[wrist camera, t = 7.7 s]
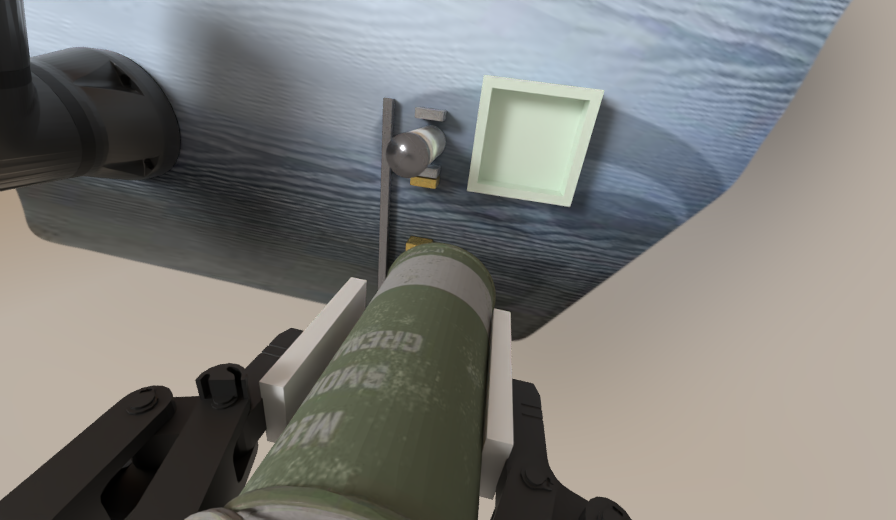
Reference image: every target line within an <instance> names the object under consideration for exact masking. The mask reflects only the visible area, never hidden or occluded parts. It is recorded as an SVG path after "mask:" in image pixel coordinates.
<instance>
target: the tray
mask: <svg viewBox="0 0 896 520" xmlns="http://www.w3.org/2000/svg"><path fill="white" fill-rule="evenodd" d="M603 94H604V90H598V89H590V88H582V87H574V86H567V85H559V84H551V83H543V82H535V81H528V80H520V79H512V78H504V77H496V76H489V75H484V78H483V84H482V91H481V98H480V105H479V112H478V119H477V125H476V132H475V139H474V146H473V153H472V159H471V166H470V173H469V180H468V187H467V191H471V192H477V193H484V194H490V195H496V196H503V197H509V198H516V199H522V200H529V201H535V202H542V203H548V204H555V205H561V206H567V207H570V205H571V202H572V199H573V195H574V192H575V189H576V185H577V182H578V178H579V175H580V172H581V168H582V165H583V161H584V158H585V155H586V151H587V148H588V144H589V141H590V138H591V134H592V131H593V128H594V124H595V121H596V117H597V114H598V111H599V107H600V104H601V100H602V97H603Z"/></svg>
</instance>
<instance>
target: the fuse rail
mask: <svg viewBox="0 0 896 520" xmlns="http://www.w3.org/2000/svg"><path fill="white" fill-rule="evenodd" d="M394 107H395V99H391V98H383V131H382V166H381V202H380V237H379V273H378V290H379V289H380V287H381V286H382V284H383V283H384V281H385V280H386V278H387V273H388V249H389V225H390V202H391V178H392V171H393V172H395V173H396V174H397V175H399V176H401V177H404V178H411V180H410V185H414V186H421V187H427V188H433V189H436V187H437V186H438V184H439V178H440V176H439V175H440V169H441V166H439V165H432V164H430V163H431V162H433V161H434V160H435V159H436V158H437V157H438V156H439V155H440V154H441V153H442V152H443V151H444V149H445V145H446V139H445V135H444V133H443V132H442V131H441V130H440V129H439V128H438V127H436V126H433V125H428V126H424V127H421V128H419V129H416V130H413V131H410V132H404V133H401V134H398V135H396V136H395V137H393V130H394ZM446 113H447V110H439V109H432V108H425V107H415V118H421V119H428V120H435V121H445V120H446ZM425 243H433V240H432V239H426V238H420V237H414V236H411V237H410V238H409V240H408V241H407V243H406V251H407V250H408V249H410V248H412V247H415V246H417V245H421V244H425Z"/></svg>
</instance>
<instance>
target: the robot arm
mask: <svg viewBox="0 0 896 520" xmlns="http://www.w3.org/2000/svg"><path fill="white" fill-rule="evenodd" d="M179 150H180V133H179V127H178V123H177V120H176V117H175V114H174V112H173V109H172V107H171V105H170V103H169V101H168V99H167V98H166V96H165V94H164V93H163V91H162V90H161V89H160V87H159V86H158V85H157V83H156V82H155V81H154V80H153V79H152V78H151V77H150V76H149V74H148V73H146V72H145V71H144V70H143V69H142V68H141V67H140V66H138V65H137V64H136V63H134V62H133V61H131V60H130V59H128V58H126V57H125V56H123V55H120V54H118V53H115V52H113V51H109V50H104V49H95V48H87V47H73V48H68V49H64V50H60V51H55V52H51V53H47V54H43V55H39V56H34V57H30V55H29V46H28V38H27V29H26V20H25V11H24V2H23V0H0V191H5V190H10V189H15V188H21V187H26V186H31V185H37V184H42V183H47V182H53V181H58V180H63V179H68V178H74V177H80V176H88V177H99V178H111V179H122V180H143V179H148V178H152V177H157V176H160V175H162V174H165V173H166V172H168V171H169V170H170V169H171V168H172V167H173V165H174V164H175V162H176V160H177V158H178V155H179ZM366 283H367V281H366V280H362V279H357V278H353V277H351V278H350V279H349V280H348V281H347V283H346V284H345V285H344V286H343V287H342V288H341V289H340V290H339V292H338V293H337V294H336V295H335V296H334V297H333V298H332V300H331V301H330V302H329V303H328V304H327V305H326V306H325V307H324V309H323V310H322V311H321V312H320V313H319V314H318V315H317V317H316V318H315V319H314V320H313V321H312V322H311V324H310V325H309V326H308V327H307V328H306V329H305V330H304V331H302V330H298V329H294V328H290V329H288V330H286V331H284V332H283V333H281V334H279V335H278V336H277V337H276V338H275V339H274V340H273V341H272V342H271V343H270V344H269V346H267V347H266V348H265V349H264V350H263V351H262V353H261V354H259V355H258V356H257V357H256V358H255V359H254V360H253V361H252V362H251V363H250V364H249V365H248V366H247V367H246V368H245V369H244V368H243V367H242V366H240V365H238V364H232V363H228V364H220V365H217V366H215V367H211V368H209V369H208V370H206V371H204V372H203V373H201V374H200V375H199V377H198V378H197V379H196V385H197V388H198V393H199V396H192V397H173V394H172V392H171V391H170V389H169V388H167V387H164V386H149V387H144V388H141V389H139V390H136V391H134V392H132V393H130V394H128V395H127V396H125V397H124V398H122V399H121V400H120V401H119V402H117V403H116V404H115V405H114V406H113V407H111V408H110V409H109V410H108V411H107V412H105V413H104V414H103V415H102V416H101V417H99V418H98V419H97V420H96V421H95V422H94V423H92V424H91V425H90V426H89V427H88V428H86V429H85V430H84V431H83V432H82V433H80V434H79V435H78V436H77V437H76V438H74V439H73V440H72V441H71V442H70V443H69V444H67V445H66V446H65V447H64V448H63V449H62V450H60V451H59V452H58V453H57V454H56V455H54V456H53V457H52V458H51V459H49V460H48V461H47V462H46V463H45V464H43V465H42V466H41V467H40V468H39V469H38V470H36V471H35V472H34V473H33V474H32V475H30V476H29V477H28V478H27V479H26V480H24V481H23V482H22V483H21V484H20V485H18V486H17V487H16V488H15V489H14V490H13V491H11V492H10V493H9V494H8V495H7V496H5V497H4V498H3V499H2V500H1V501H0V520H184V519H186V518H187V517H189V516H190V515H193V514H195V513H198V512H201V511H205V510H208V509H212V508H221V507H222V508H224V506H225V505H226V504H227V503H228V502H229V501H231V500H232V499H234V498H236V497H237V496H239V494H240V493H241V491H242V490H243V489H244V487H245V485H246V482H247V479H248V476H249V473H250V471H251V468H252V465H253V463H254V460H255V457H256V454H257V450H258V440H259V438H260V437H261V436H262V434H263V433H264V432H265V430H266V435H267V441H270V442H274V443H275V442H276V441H277V440H278V438H279V437H280V435H281V434H282V432H283V431H284V430H285V428H286V427H287V425H288V424H289V422H290V421H291V419H292V418H293V416H294V415H295V413H296V412H297V410H298V409H299V407H300V406H301V404H302V403H303V401H304V400H305V398H306V397H307V395H308V394H309V393H310V391H311V390H312V388H313V387H314V385H315V384H316V382H317V381H318V379H319V378H320V376H321V375H322V373H323V372H324V370H325V369H326V367H327V366H328V364H329V363H330V361H331V360H332V358H333V357H334V355H335V354H336V352H337V351H338V349H339V348H340V346H341V345H342V344H343V342H344V341H345V339H346V338H347V336H348V335H349V333H350V332H351V330H352V329H353V327H354V326H355V324H356V323H357V321H358V320H359V318H360V317H361V315H362V314H363V312H364V311H365V302H366ZM542 419H543V416H542V410H541V400H540V395H539V393H538V391H537V389H536V387H535V386H534V384H532V383H529V382H524V381H520V380H516V379H512V359H511V313H510V312H508V311H503V310H499V309H494V311H493V314H492V318H491V326H490V341H489V356H488V370H487V385H486V399H485V414H484V428H483V443H482V464H481V479H480V494H479V496H481V497H485V498H488V499H493V497H494V495H495V492H496V503H495V509H494V512H493V514H492V517H491V519H490V520H632V519H631V518H630V517H629V515H628V514H627V513H626V511H625V510H624V509H623V508H621V507H620V506H619V505H618V504H617V503H615V502H614V501H612V500H610V499H608V498H604V497H595V498H592V499H590V501H587V500H585V499H584V498H582V497H580V496H579V495H577V494H575V493H574V492H572V491H570V490H569V489H568V488H566V487H565V486H563V485H562V484H561V483H560V482H559V481H558V480H557V478H556V477H555V475H554V474H553V472H552V470H551V469H550V466H549V463H548V459H547V452H546V443H545V434H544V425H543V421H542Z"/></svg>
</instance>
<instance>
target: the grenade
mask: <svg viewBox="0 0 896 520" xmlns="http://www.w3.org/2000/svg"><path fill="white" fill-rule="evenodd" d="M495 297H496V294H495V286H494V283H493V280H492V277H491V275H490V273H489V272H488V270H487V269H486V267H485V266H484V265H483V263H482V262H481V261H480V260H479V259H478V258H476V257H475V256H474V255H473V254H471V253H469V252H468V251H466V250H464V249H462V248H460V247H457V246H454V245H451V244H445V243H425V244H421V245H417V246H415V247H412V248H410V249H408V250H407V251H405V252H404V253H402V254H401V255H400V256H399V257H398V258H397V259H396V260H395V261H394V263H393V264H392V266H391V267H390V269H389V272H388V275H387V278H386V280H385V281H384V283H383V284H382V286H381V287H380V289H379V290H378V292H377V293H376V295H375V296H374V297H373V299H372V300H371V302H370V303H369V305H368V306H367V308H366V309H365V311H364V312H363V314H362V315H361V317H360V318H359V320H358V321H357V323H356V324H355V326H354V327H353V329H352V330H351V332H350V333H349V335H348V336H347V338H346V339H345V341H344V342H343V344H342V345H341V346H340V348H339V349H338V351H337V352H336V354H335V355H334V357H333V358H332V360H331V361H330V363H329V364H328V366H327V367H326V369H325V370H324V372H323V373H322V375H321V376H320V378H319V379H318V381H317V382H316V384H315V385H314V387H313V388H312V390H311V391H310V393H309V394H308V395H307V397H306V398H305V400H304V401H303V403H302V404H301V406H300V407H299V409H298V410H297V412H296V413H295V415H294V416H293V418H292V419H291V421H290V422H289V424H288V425H287V427H286V428H285V430H284V431H283V432H282V434H281V435H280V437H279V438H278V440H277V441H276V442H275V444H274V445H273V447H272V448H271V450H270V451H269V453H268V454H267V455H266V457H265V459H264V460H263V461H262V463H261V464H260V466H259V467H258V468H257V470H256V471H255V473H254V474H253V476H252V477H251V479H250V480H249V481H248V483H247V484H246V486H245V487H244V489H243V490H242V491H241V493H240V494H239V496H237V497H236V498H234V499H232V500H231V501H229V502H228V503H227V504H226V505H225V506H224V508H222V507H221V508H212V509H208V510H205V511H201V512H198V513H195V514H193V515H190V516H189V517H187V518H186V519H184V520H478V509H479V494H480V479H481V464H482V443H483V428H484V414H485V399H486V385H487V370H488V356H489V341H490V326H491V316H492V312H493V309H494V305H495Z"/></svg>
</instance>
